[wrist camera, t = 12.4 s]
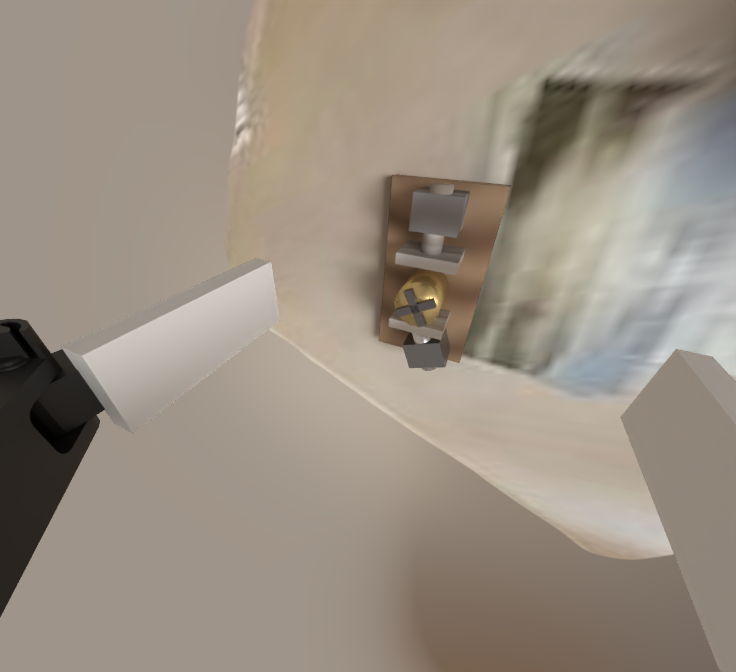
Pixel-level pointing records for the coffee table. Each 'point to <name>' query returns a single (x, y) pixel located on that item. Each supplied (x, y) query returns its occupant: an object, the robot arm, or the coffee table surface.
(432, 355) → the grey block with shaft
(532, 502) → the coffee table surface
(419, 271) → the gold rounded cylinder
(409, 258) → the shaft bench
